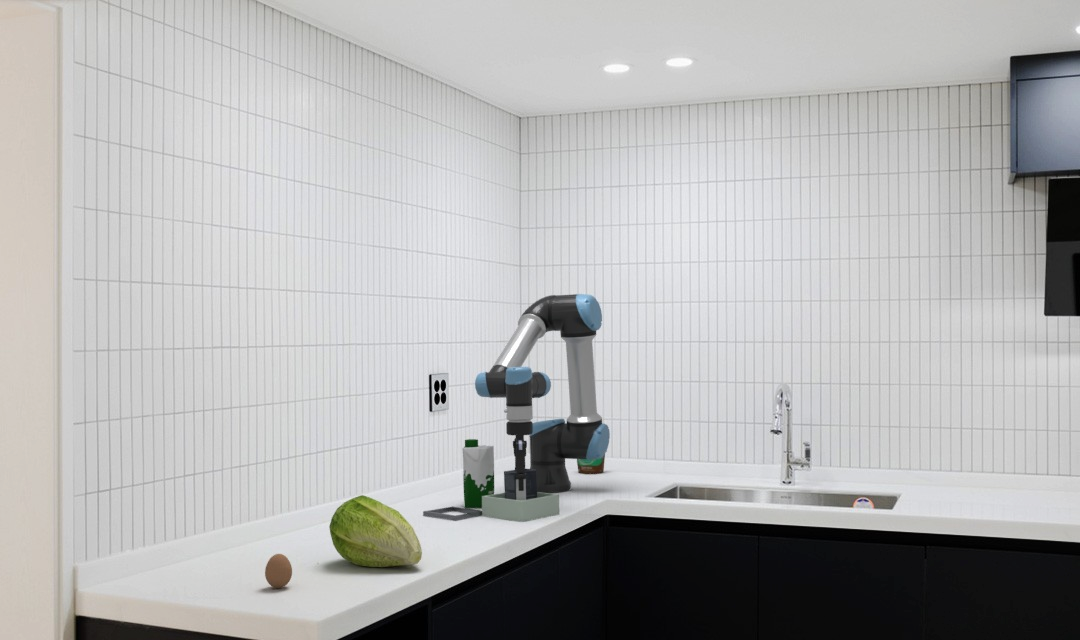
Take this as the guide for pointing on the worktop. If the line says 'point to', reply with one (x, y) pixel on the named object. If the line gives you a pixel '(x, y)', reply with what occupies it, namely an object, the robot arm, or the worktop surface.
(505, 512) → the bin
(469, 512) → the collar
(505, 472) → the box
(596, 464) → the food container
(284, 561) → the egg
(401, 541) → the lettuce
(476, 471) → the milk carton
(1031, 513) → the worktop surface
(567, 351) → the robot arm
